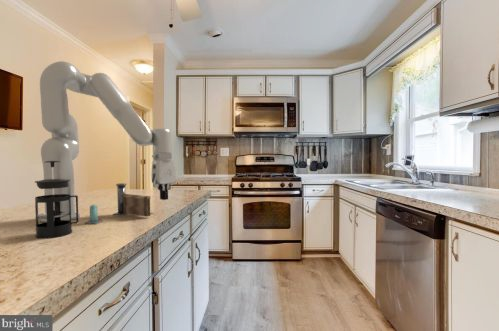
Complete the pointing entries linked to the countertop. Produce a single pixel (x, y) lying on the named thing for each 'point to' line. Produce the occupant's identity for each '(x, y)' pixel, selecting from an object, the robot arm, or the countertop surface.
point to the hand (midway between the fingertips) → (164, 199)
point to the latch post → (93, 215)
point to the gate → (136, 204)
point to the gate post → (120, 198)
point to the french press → (54, 209)
